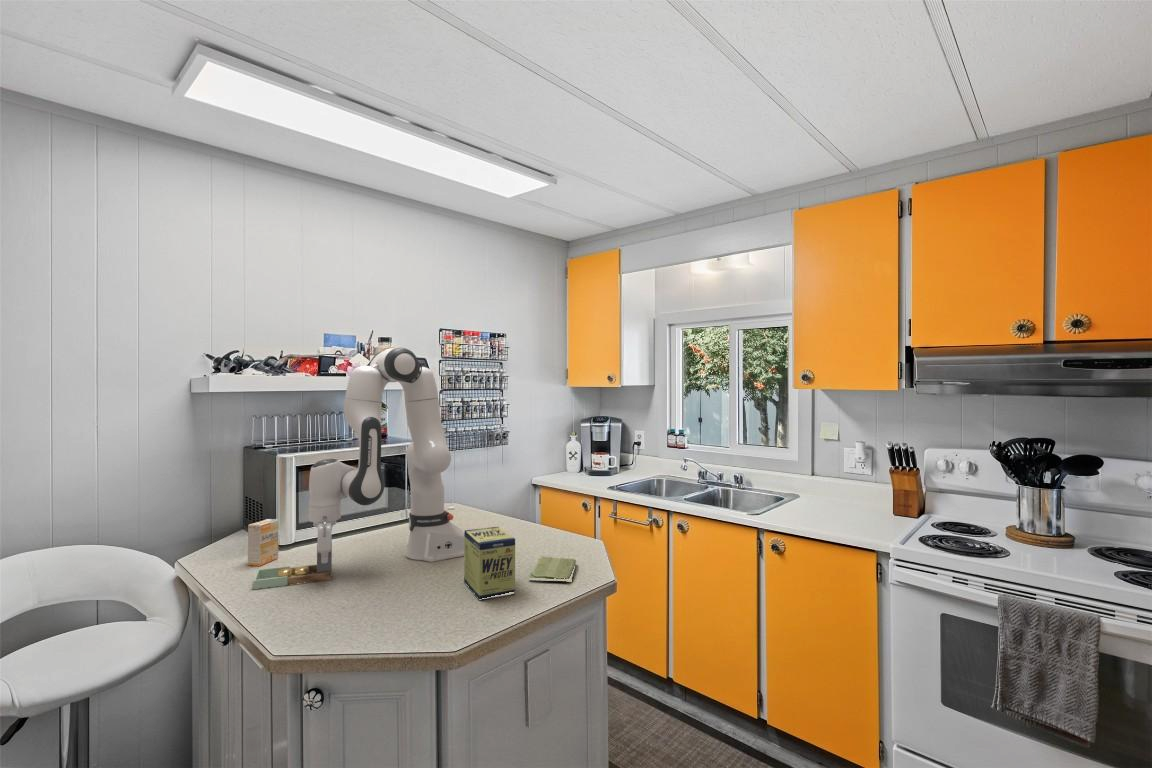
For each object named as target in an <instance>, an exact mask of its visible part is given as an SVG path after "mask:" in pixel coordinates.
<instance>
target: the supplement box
mask: <svg viewBox="0 0 1152 768" xmlns="http://www.w3.org/2000/svg"><path fill="white" fill-rule="evenodd" d="M279 521H280V520H279V519H276V518H273V519H272V518H266V519H264V520H260V521H257V522H253V523H250V524H248V527H247V531H248V532H247V536H248V537H247V565H248V566H250V565H253V567H261V566H263V565H266V564H268V563H270V562H272V561H275V560H278V559H279Z"/></svg>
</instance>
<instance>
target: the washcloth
mask: <svg viewBox="0 0 1152 768" xmlns="http://www.w3.org/2000/svg"><path fill="white" fill-rule="evenodd" d="M576 564H577V561H576V558H569V557H567V558H566V557H560V558H559V557H553V556H543V555H542V556H540V557H539V559H538V561H537V563H536V565H535V566H534V568H533V570H532V571H531V573H530V575H529V577H530V578H545V579H554V578H556V579H564V578H565V579H569V578H570V576H571V574H572V571H573V569H574V566H576Z"/></svg>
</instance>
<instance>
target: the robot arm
mask: <svg viewBox="0 0 1152 768" xmlns="http://www.w3.org/2000/svg"><path fill="white" fill-rule="evenodd" d="M434 375H435V374H434V373H433V371H432V370H431V369H430V368H428V367H425V366H422V364H421V363H420V361H419V360H418V358H417V355H416V354H415V353H414V352H413V351H411V349H408V348H405V347H391V348H388V349H385V350H382V351H381V350H380V351H378V352H377V353H375V354H374V355H373V357H372V359H370V361H369V362H368V363H367V365H361V366H358V367H355V368H354V369H352V371H351V373H350V375H349V379H348V382H347V386H346V389H345V390H346V391H345V395H344V397H345V398H344V403H343V404H344V405H343V413H344V420H345V422H346V423H347V425H348V426H349V427H350V428H351V429H352V430H353V432H354V433H355V434H356V437H357V439H358V467H356V466H352V465H348V464H346V463H343V462H341V460H339V459H337V458H326V459H321V460H319V461H317V462H315V463H313V464H312V466H311V467H310V471H309V479H308V480H309V481H308V492H309V497H310V498H309V501H308V521H309V522H311V523H313V524H312V525H313V527H315V528H317V541H318V546H317V545H316V551H317V550H318V553H321V563H327V562H328V552H330V551H331V540H332V537H333V536H332V531H333V526H335V525H336V524H337V521H338V520H340V519H341V517H342V513H341V512H342V509H341V508H342V506H341V505H342V500H343V499H348V500H351V501H353V502H355V503H356V504H358V505H361V506H370V505H373V504H374V503H376V502H377V501H379V500H380V498H381V497H382V495H383V494H384V490H385V480H384V477H383V473H382V469H381V468H382V466H381V465H382V461H381V460H382V424H381V421H382V420H381V417H382V405H383V403H382V402H383V395H384V394H383V392H384V390H385V388H386V387H387V385H388V384H389V383H399V384H400V385H401V387H402V389H403V392H404V394H403V395H404V396H403V397H404V398H403V399H404V406H405V414H406V424H407V427H408V429H409V432H410V437H411V442H410V443H409V444H408V445H407V447H406V451H405V455H406V460H407V461H406V462H407V472H408V479H409V485H410V486H409V488H410V512H409V516H408V530H409V537H408V542H407V546H406V547H407V549H406V551H405V553H404V555H405V557H406V558H408V559H411V560H416V561H417V560H419V561H425V562H428V563H429V562H437V561H442V560H443V561H444V560H448V559H452V558H459V557H463V556H464V532H465V531H463V529H461V528H459V526H457V525H456V524H454V523H453V522H452V521H453V519H454V515H453V513H450V512H448V511H446V510H445V487H444V482H443V479H442V473H444V472H445V471H447V469H448V468H449V466H450V465H451V462H452V454H451V452H450V449H449V447H448V442H447V438H446V433H445V431H444V427H443V424H442V423H443V422H442V418H441V410H440V408H441V407H440V400H439V393H438V391H439V390H438V387H437V384H436V383H437V382H436V378H435V376H434Z"/></svg>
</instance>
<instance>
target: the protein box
mask: <svg viewBox="0 0 1152 768" xmlns="http://www.w3.org/2000/svg"><path fill="white" fill-rule="evenodd" d="M463 532H464V559H463V561H464V562H463V563H464V564H463V566H464V567H463V569H464V570H463V576H464V578H463V583H464V582H465V583H466V584H467V585H468V586H469V588H470V589H471V590H472V591H473V592H474V593H475V595H476V596H477V597H478V598H479V599H482V598H487V597H491V596H495V595H501V594H505V593H509V592H514V591H515V592H516V538H515V537H513V536H512V535H510V534H509V533H507V532H506V531H505V530H503V529H502V528H501V527H499V526H493V527H484V528H483V527H482V528H474V529H473V528H472V529H466V530H464V531H463ZM465 583H464V584H465ZM466 584H465V585H466ZM467 585H466V586H467ZM468 586H467V587H468ZM469 588H468V589H469ZM470 589H469V590H470ZM471 590H470V591H471ZM472 591H471V592H472ZM475 595H474V596H475ZM476 596H475V597H476ZM477 597H476V598H477Z"/></svg>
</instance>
